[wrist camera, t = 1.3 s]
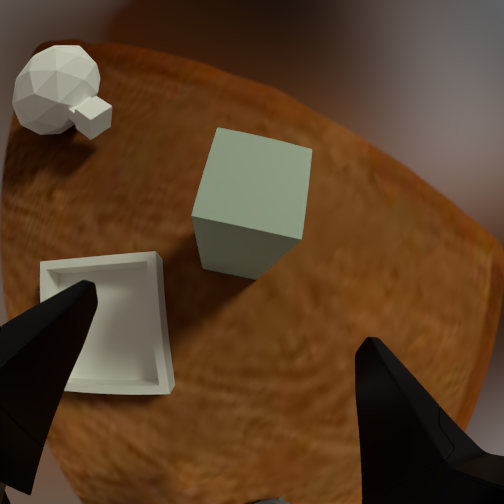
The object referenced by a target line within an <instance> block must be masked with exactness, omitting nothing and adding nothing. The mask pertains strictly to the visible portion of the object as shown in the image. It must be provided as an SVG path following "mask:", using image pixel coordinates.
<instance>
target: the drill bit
mask: <svg viewBox="0 0 504 504" xmlns="http://www.w3.org/2000/svg"><path fill="white" fill-rule="evenodd" d="M254 504H290V503H289V502H286V501H284V500H283V499H282V498H281V497H280V498H278V499H274V498H270V499H264V500H261V501H259V502H257V503H254Z"/></svg>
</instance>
